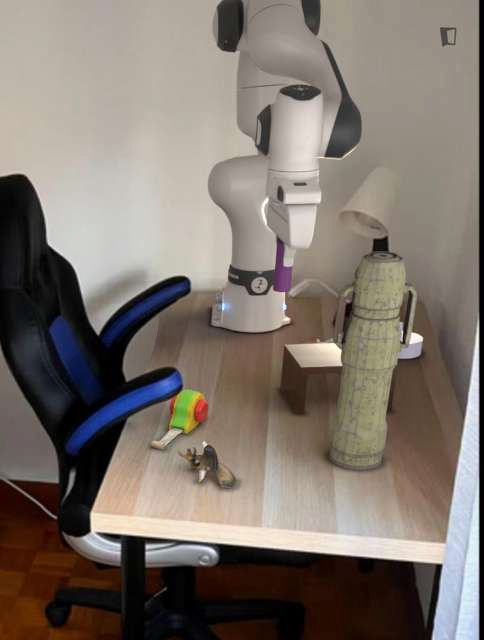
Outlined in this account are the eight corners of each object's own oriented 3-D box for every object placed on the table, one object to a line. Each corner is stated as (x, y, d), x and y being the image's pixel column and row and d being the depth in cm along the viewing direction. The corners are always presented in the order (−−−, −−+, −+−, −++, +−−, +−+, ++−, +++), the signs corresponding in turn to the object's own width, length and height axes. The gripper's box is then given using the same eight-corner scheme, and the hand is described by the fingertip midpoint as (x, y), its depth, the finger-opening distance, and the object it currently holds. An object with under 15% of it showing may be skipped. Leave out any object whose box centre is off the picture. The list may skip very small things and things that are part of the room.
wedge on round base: (356, 354, 213) (419, 360, 209) (360, 324, 210) (424, 330, 205) (360, 341, 220) (421, 347, 216) (364, 313, 217) (426, 317, 213)
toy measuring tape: (217, 416, 185) (219, 384, 182) (171, 454, 171) (173, 419, 168) (186, 410, 188) (188, 378, 185) (139, 446, 174) (140, 412, 171)
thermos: (312, 449, 171) (335, 249, 155) (379, 446, 171) (409, 246, 155) (328, 471, 163) (354, 263, 147) (398, 468, 163) (431, 260, 147)
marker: (270, 287, 183) (275, 223, 177) (288, 287, 183) (295, 222, 177) (274, 292, 180) (280, 227, 174) (293, 292, 180) (299, 226, 174)
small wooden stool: (280, 389, 196) (284, 344, 192) (369, 386, 196) (375, 341, 192) (296, 414, 185) (301, 367, 180) (391, 411, 185) (398, 364, 180)
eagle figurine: (170, 474, 161) (212, 481, 155) (181, 432, 162) (225, 439, 155) (197, 485, 166) (239, 493, 160) (208, 445, 167) (251, 451, 160)
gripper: (261, 175, 182) (255, 249, 188) (286, 196, 164) (279, 277, 170) (295, 174, 182) (288, 248, 188) (324, 195, 164) (315, 276, 170)
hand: (284, 262), depth 179 cm, fingers closed on marker, 3 cm apart
